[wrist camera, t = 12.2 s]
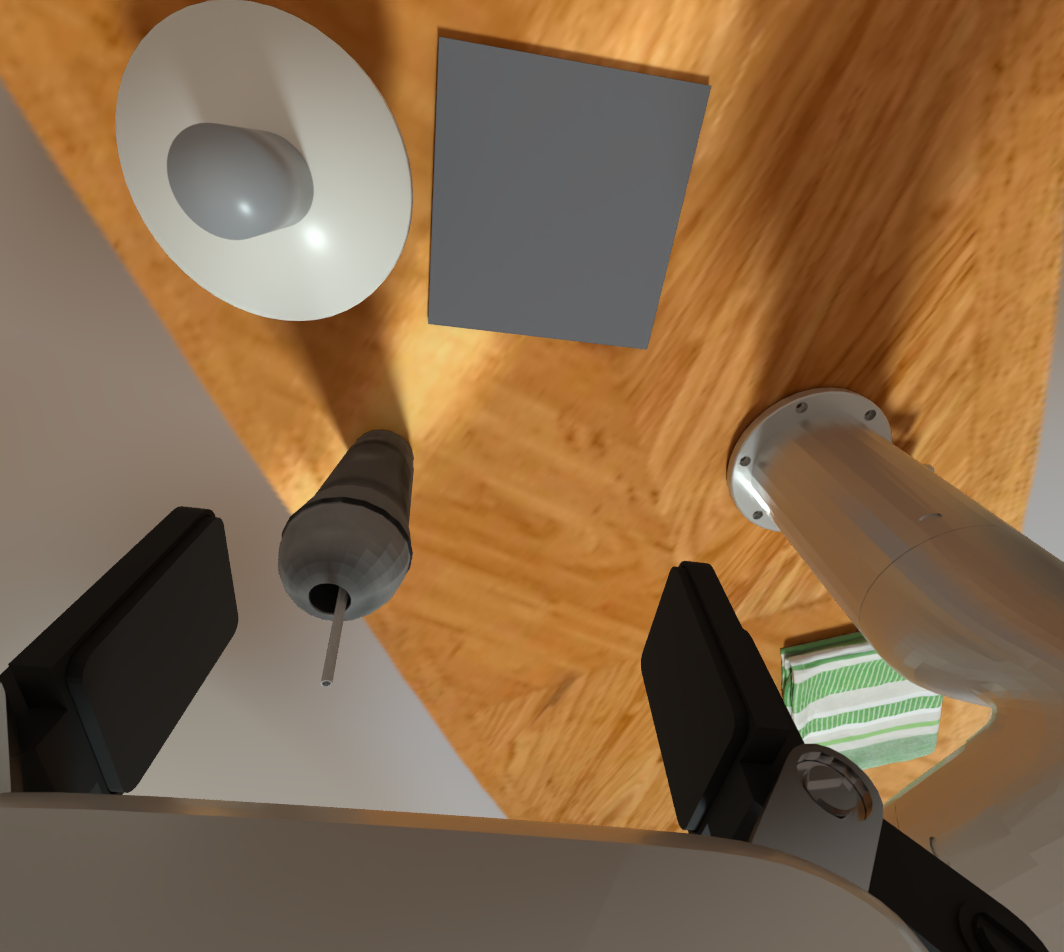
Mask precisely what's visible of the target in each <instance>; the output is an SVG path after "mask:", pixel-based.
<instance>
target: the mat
mask: <svg viewBox="0 0 1064 952" xmlns="http://www.w3.org/2000/svg"><path fill="white" fill-rule="evenodd" d="M710 89H711V86H709V85H703V84H698V83H692V82H687V81H681V80H675V79H670V78H664V77H659V76H653V75H648V74H642V73H637V72H631V71H626V70H620V69H615V68H609V67H604V66H598V65H593V64H587V63H582V62H576V61H570V60H565V59H559V58H554V57H548V56H543V55H537V54H532V53H526V52H521V51H515V50H510V49H504V48H499V47H493V46H488V45H482V44H476V43H471V42H465V41H460V40H454V39H449V38H443V37H439V53H438V79H437V106H436V132H435V159H434V185H433V212H432V239H431V265H430V292H429V318H428V324H434V325H442V326H451V327H460V328H468V329H477V330H485V331H494V332H502V333H511V334H519V335H528V336H537V337H545V338H554V339H562V340H571V341H579V342H588V343H596V344H605V345H614V346H622V347H631V348H639V349H647V348H648V344H649V340H650V335H651V331H652V327H653V323H654V319H655V315H656V311H657V307H658V303H659V299H660V294H661V290H662V286H663V282H664V278H665V274H666V270H667V266H668V262H669V258H670V253H671V249H672V245H673V241H674V237H675V233H676V229H677V225H678V221H679V216H680V212H681V208H682V204H683V200H684V196H685V192H686V188H687V184H688V180H689V175H690V171H691V167H692V163H693V159H694V155H695V151H696V147H697V143H698V138H699V134H700V130H701V126H702V122H703V118H704V114H705V110H706V106H707V102H708V97H709V93H710Z"/></svg>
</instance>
